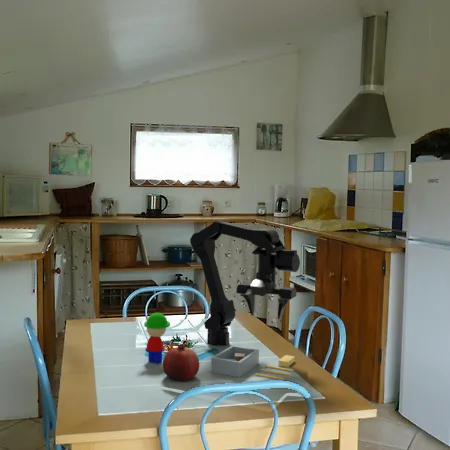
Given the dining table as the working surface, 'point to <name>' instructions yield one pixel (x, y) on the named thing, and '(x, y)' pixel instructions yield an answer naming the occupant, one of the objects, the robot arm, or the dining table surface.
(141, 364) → the dining table surface
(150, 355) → the toy
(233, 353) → the tub
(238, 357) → the part block
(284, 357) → the lid
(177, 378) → the fruit
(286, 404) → the dining table surface
